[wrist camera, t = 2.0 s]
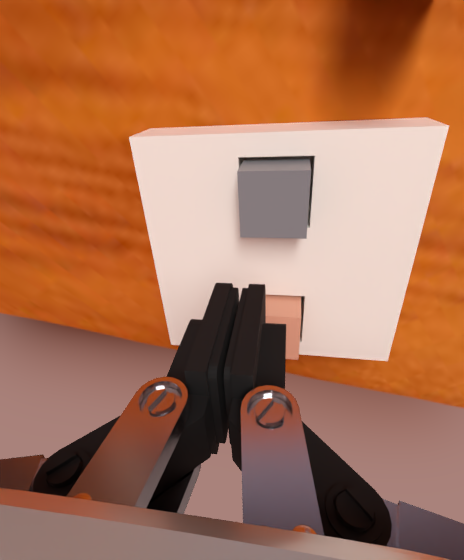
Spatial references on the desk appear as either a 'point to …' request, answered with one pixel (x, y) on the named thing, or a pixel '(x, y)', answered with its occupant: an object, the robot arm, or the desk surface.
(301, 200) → the grey key
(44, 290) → the desk surface
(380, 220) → the key console
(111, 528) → the robot arm
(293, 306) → the terracotta key
